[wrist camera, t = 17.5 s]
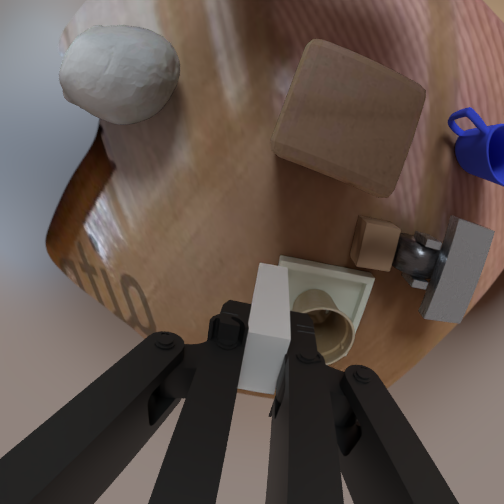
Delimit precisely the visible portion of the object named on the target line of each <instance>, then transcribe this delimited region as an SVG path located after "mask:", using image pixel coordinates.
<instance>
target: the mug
mask: <svg viewBox="0 0 504 504" xmlns="http://www.w3.org/2000/svg"><path fill="white" fill-rule="evenodd" d="M462 117H468V118H469V119H470V120H471V121H472V122H473V123H474V125H475V126H476V127H477V128H474V129H469V130H466V131H463V130H462V129H461V128H459V127H458V125H457V124H456V123H455V121H454V120H455V119H458V118H462ZM448 125H449V127H450V128H451V130H452V131H453V132H454V133H456V134H457V135H459V137H458V139H457V141H456V145H455V154H456V158H457V161H458V163H459V164H460V166H461V167H462V168H463V169H464V170H465V171H466V172H468V173H469V174H472V175H475V176H477V177H480V178H483V179H486V180H488V181H491V182H494V183H496V184H499V185H501V186H504V124H497V125H491V126H486V124H485V123H484V121H483V120H482V119H481V118H480V116H479V115H478V114H477V113H476V112H475V111H474V110H473V109H472V108H470V107H469V108H465V109H462V110H459V111H457V112H455V113H453V114H452V115H451V116H450V117H449V119H448Z"/></svg>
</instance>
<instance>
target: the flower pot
mask: <svg viewBox="0 0 504 504" xmlns="http://www.w3.org/2000/svg"><path fill="white" fill-rule="evenodd" d="M326 310H329V312H328V313H327V314H326ZM292 311H295V312H300V313H306V314H308V315H309V316H310V318H311V319H312V320H313V325H314V331H315V338H316V344H317V351H318V352H319V353H320V354H321V355H322V356H323V357H324V359H325V364H326V365H329V364H332V363H334V362H336V361H338V360H340V359H341V358H342V357H343V356H345V355H346V354H347V353H348V351H349V350H350V349H351V347H352V345H353V342H354V338H355V329H354V325H353V323H352V321H351V320H350V318H349V317H348V316H347V315H346V314H345V313H343V312H342V311H340V310H339V309H338V308H337V306H336V305H335V303H334V301H333V299H332V298H331V296H330V295H329V294H328V293H326V292H325V291H323V290H319V289H310V290H307V291H305V292H303V293H301V294H300V295H298V296H297V298H296V299H295V301H294V303H293V308H292Z"/></svg>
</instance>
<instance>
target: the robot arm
mask: <svg viewBox="0 0 504 504" xmlns="http://www.w3.org/2000/svg"><path fill="white" fill-rule="evenodd" d="M237 388H239V389H244V390H249V391H255V392H261V393H267V394H273V395H274V392H275V389H276V396H275V399H274V402H273V405H272V408H271V411H270V413H269V417H271V416H272V424H271V438H270V439H271V440H270V454H269V466H268V479H267V491H266V502H265V504H344V501H343V490H342V481H341V473H342V475H343V477H344V480H345V483H346V485H347V488H348V490H349V492H350V495H351V497H352V500H353V502H354V504H459V503H458V501H457V500H456V498H455V496H454V495H453V493H452V491H451V490H450V488H449V486H448V485H447V483H446V481H445V480H444V478H443V477H442V475H441V473H440V471H439V470H438V468H437V466H436V465H435V463H434V462H433V460H432V459H431V457H430V455H429V454H428V452H427V451H426V449H425V447H424V446H423V444H422V442H421V441H420V439H419V438H418V436H417V435H416V433H415V431H414V430H413V428H412V427H411V425H410V424H409V422H408V421H407V419H406V417H405V416H404V414H403V413H402V411H401V410H400V408H399V407H398V405H397V404H396V402H395V401H394V399H393V398H392V396H391V395H390V393H389V392H388V390H387V388H386V387H385V385H384V384H383V382H382V381H381V379H380V378H379V376H378V375H377V374H376V373H375V372H374V371H373V370H371V369H370V368H368V367H366V366H362V365H352V366H349V367H348V368H346V370H345V372H343V371H340V370H337V369H334V368H332V367H329V366H328V365H326V364H325V359H324V357H323V356H322V355H321V354H320V353H319V352H318V351H317V344H316V338H315V331H314V325H313V320H312V319H311V318H310V316H309V315H308V314H306V313H300V312H295V311H290V306H289V284H288V268H286V267H281V266H276V265H271V264H265V263H260V264H259V269H258V274H257V279H256V284H255V289H254V294H253V299H252V304H247V303H242V302H237V301H232V300H229V301H228V302H226V303H225V304H223V307H222V309H221V312H220V314H218V315H216V316H213V317H212V318H211V319H210V323H209V331H208V339H207V341H206V342H204V343H200V344H184V341H183V340H182V338H181V337H180V336H178V335H176V334H174V333H171V332H162V331H161V332H156V333H153V334H151V335H149V336H148V337H147V338H146V339H144V340H143V341H142V342H141V343H140V344H138V345H137V346H136V347H135V348H134V349H132V350H131V351H130V352H129V353H128V354H126V355H125V356H124V357H123V358H121V359H120V360H119V361H118V362H117V363H115V364H114V365H113V366H112V367H110V368H109V369H108V370H107V371H106V372H105V373H103V374H102V375H101V376H100V377H98V378H97V379H96V380H95V381H94V382H92V383H91V384H90V385H89V386H88V387H87V388H85V389H84V390H83V391H82V392H80V393H79V394H78V395H77V396H75V397H74V398H73V399H72V400H71V401H69V403H67V404H66V405H65V406H63V407H62V408H61V409H60V410H59V411H57V412H56V413H55V414H54V415H53V416H51V417H50V418H49V419H48V420H46V421H45V422H44V423H43V424H42V425H40V426H39V427H38V428H37V429H36V430H34V431H33V432H32V433H31V434H30V435H28V436H27V437H26V438H25V439H24V440H22V441H21V442H20V443H19V444H17V445H16V446H15V447H14V448H13V449H11V450H10V451H9V452H8V453H7V454H5V455H4V456H3V457H2V458H1V459H0V504H94V503H95V502H96V501H97V499H98V498H99V497H100V496H101V495H102V494H103V493H104V492H105V490H106V489H107V488H108V487H109V486H110V485H111V484H112V482H113V481H114V480H115V479H116V478H117V477H118V476H119V474H120V473H121V472H122V471H123V470H124V468H125V467H126V466H127V465H128V464H129V463H130V461H131V460H132V459H133V458H134V457H135V456H136V454H137V453H138V452H139V451H140V450H141V448H142V447H143V446H144V445H145V444H146V442H147V441H148V440H149V439H150V437H151V436H152V435H153V434H154V433H155V431H156V430H157V429H158V428H159V426H160V425H161V424H162V423H163V422H164V421H165V419H166V418H167V417H168V416H169V414H170V413H171V412H172V411H173V409H174V408H175V407H176V406H177V404H178V403H179V402H180V400H181V398H186V400H185V402H184V405H183V408H182V411H181V413H180V416H179V419H178V422H177V424H176V427H175V430H174V432H173V435H172V438H171V441H170V444H169V446H168V449H167V452H166V455H165V458H164V461H163V463H162V466H161V469H160V472H159V475H158V478H157V480H156V483H155V486H154V489H153V492H152V494H151V497H150V500H149V503H148V504H215V503H216V498H217V493H218V488H219V483H220V478H221V472H222V467H223V462H224V457H225V452H226V447H227V441H228V436H229V431H230V426H231V420H232V415H233V409H234V404H235V399H236V394H237ZM340 470H341V471H340Z"/></svg>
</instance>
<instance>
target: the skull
mask: <svg viewBox="0 0 504 504" xmlns="http://www.w3.org/2000/svg"><path fill="white" fill-rule="evenodd" d="M179 76H180V62H179V59H178V56H177V53H176V51H175V49H174V48H173V46H172V45H171V43H170V42H168V41H167V40H166V39H165V38H164V37H163V36H161V35H159V34H157V33H155V32H153V31H151V30H148V29H145V28H141V27H134V26H126V25H119V26H102V25H96V26H93V27H92V28H90V29H88V30H86V31H84V32H83V33H81V34H80V35H78V36H77V37H76V39H75V40H74V41H73V42H72V44H71V45H70V47H69V48H68V50H67V51H66V54H65V56H64V58H63V61H62V64H61V67H60V72H59V80H60V84H61V86H62V89H63V95H64V98H65V99H66V100H67V101H68V102H70V103H73V104H75V105H77V106H79V107H80V108H82V109H84V110H86V111H87V112H89V113H90V114H92V115H94V116H96V117H98V118H100V119H103V120H105V121H108V122H111V123H114V124H120V125H124V124H133V123H137V122H140V121H143V120H146V119H149V118H150V117H152V116H153V115H155V114H156V113H157V112H159V111H160V110H161V109H162V108H163V106H164V105H165V104H166V102H167V101H168V100H169V98H170V96H171V94H172V92H173V91H174V89H175V87H176V85H177V82H178V79H179Z"/></svg>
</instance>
